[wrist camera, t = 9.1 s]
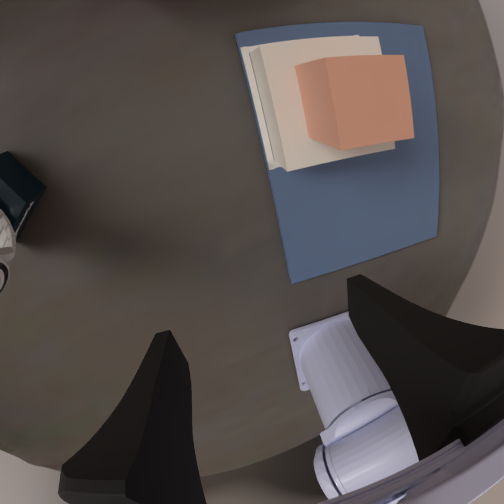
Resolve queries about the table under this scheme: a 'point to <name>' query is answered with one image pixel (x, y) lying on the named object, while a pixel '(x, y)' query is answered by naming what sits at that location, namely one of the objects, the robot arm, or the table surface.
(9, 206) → the watch
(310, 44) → the base block
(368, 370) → the robot arm
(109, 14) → the table surface
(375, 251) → the blueprint board
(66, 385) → the table surface
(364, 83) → the terracotta block
